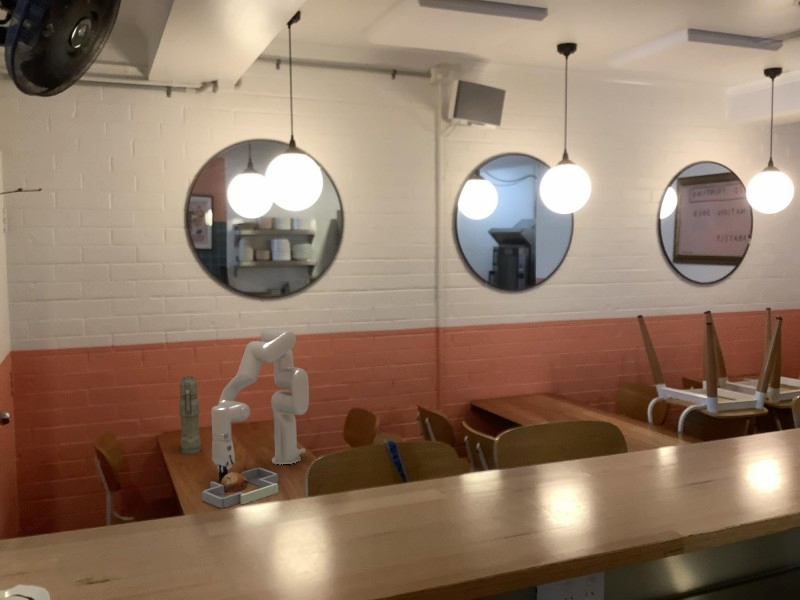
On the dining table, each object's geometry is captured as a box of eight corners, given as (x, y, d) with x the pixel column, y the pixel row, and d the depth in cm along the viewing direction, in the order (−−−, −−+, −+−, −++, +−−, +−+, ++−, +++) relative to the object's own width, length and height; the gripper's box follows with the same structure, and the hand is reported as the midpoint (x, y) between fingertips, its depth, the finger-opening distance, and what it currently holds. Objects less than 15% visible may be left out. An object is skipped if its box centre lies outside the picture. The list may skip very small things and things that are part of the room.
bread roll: (228, 492, 293) (218, 475, 292) (250, 480, 293) (241, 463, 292) (224, 501, 283) (214, 483, 282) (247, 489, 284) (238, 471, 283)
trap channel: (259, 475, 302) (258, 467, 302) (293, 487, 287) (292, 478, 287) (192, 496, 279) (191, 487, 279) (225, 510, 264) (225, 501, 264)
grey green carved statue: (181, 456, 330) (178, 380, 326) (180, 449, 341) (177, 375, 337) (202, 454, 332) (198, 379, 329) (200, 447, 344) (197, 374, 340)
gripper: (240, 437, 288) (242, 482, 290) (219, 431, 298) (221, 474, 300) (224, 442, 283) (226, 487, 284) (203, 435, 293) (205, 479, 295)
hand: (223, 480), depth 292 cm, fingers closed
